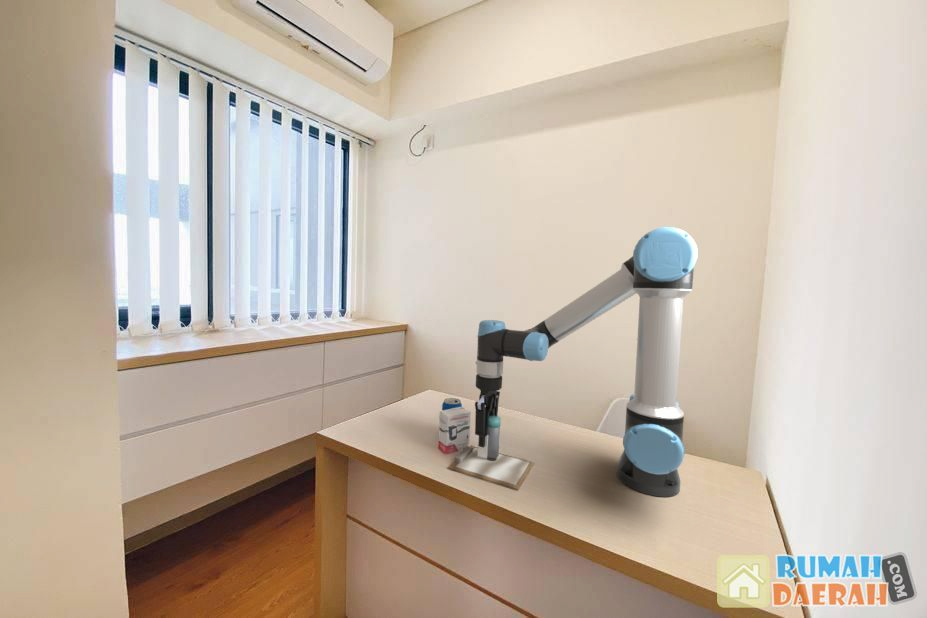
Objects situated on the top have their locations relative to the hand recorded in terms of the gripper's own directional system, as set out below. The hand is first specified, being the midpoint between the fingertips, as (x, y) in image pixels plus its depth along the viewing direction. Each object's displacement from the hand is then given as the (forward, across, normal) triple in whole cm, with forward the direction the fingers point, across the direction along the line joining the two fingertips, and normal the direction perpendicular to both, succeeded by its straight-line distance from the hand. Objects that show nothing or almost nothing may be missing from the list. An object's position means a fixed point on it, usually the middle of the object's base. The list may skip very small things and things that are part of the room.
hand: (485, 453), depth 102 cm
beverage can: (+2, -8, -16) cm, 18 cm away
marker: (+1, 0, +2) cm, 2 cm away
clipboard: (+2, +3, +3) cm, 5 cm away
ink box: (+2, -1, -11) cm, 11 cm away
